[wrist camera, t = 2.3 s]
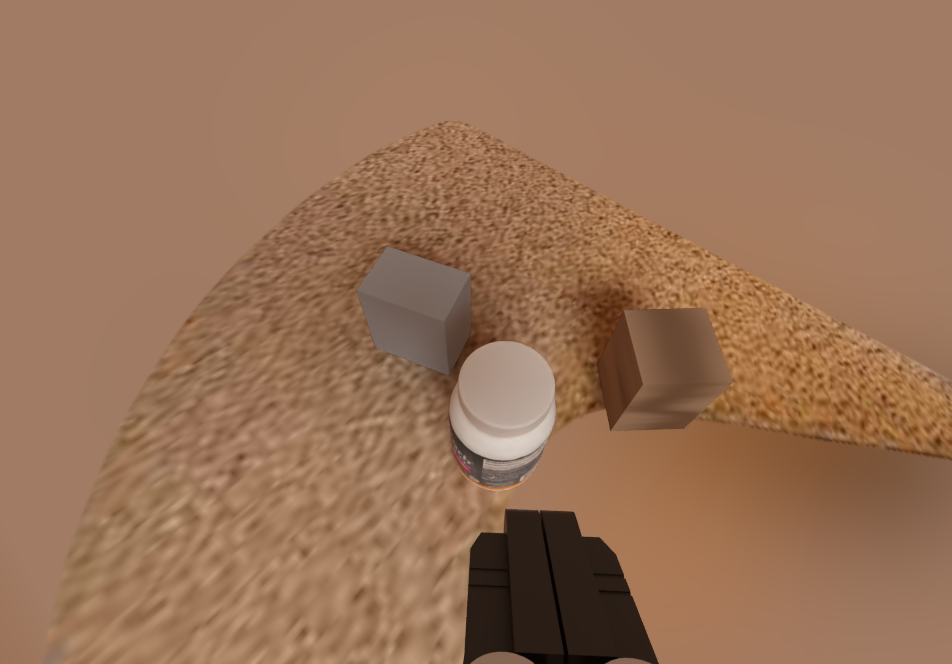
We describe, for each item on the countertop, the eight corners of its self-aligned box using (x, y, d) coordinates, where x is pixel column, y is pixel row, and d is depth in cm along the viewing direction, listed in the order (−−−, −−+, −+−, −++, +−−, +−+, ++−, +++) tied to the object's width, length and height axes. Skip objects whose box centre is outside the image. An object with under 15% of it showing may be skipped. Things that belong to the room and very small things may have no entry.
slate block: (471, 333, 35) (470, 273, 29) (449, 376, 33) (444, 321, 27) (401, 308, 36) (387, 246, 31) (375, 348, 34) (356, 290, 29)
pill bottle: (444, 420, 31) (433, 344, 23) (523, 399, 32) (542, 319, 24) (465, 504, 28) (462, 453, 20) (552, 479, 29) (585, 420, 21)
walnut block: (664, 363, 34) (705, 307, 28) (683, 428, 31) (733, 381, 25) (597, 365, 34) (623, 309, 28) (610, 431, 31) (643, 384, 25)
